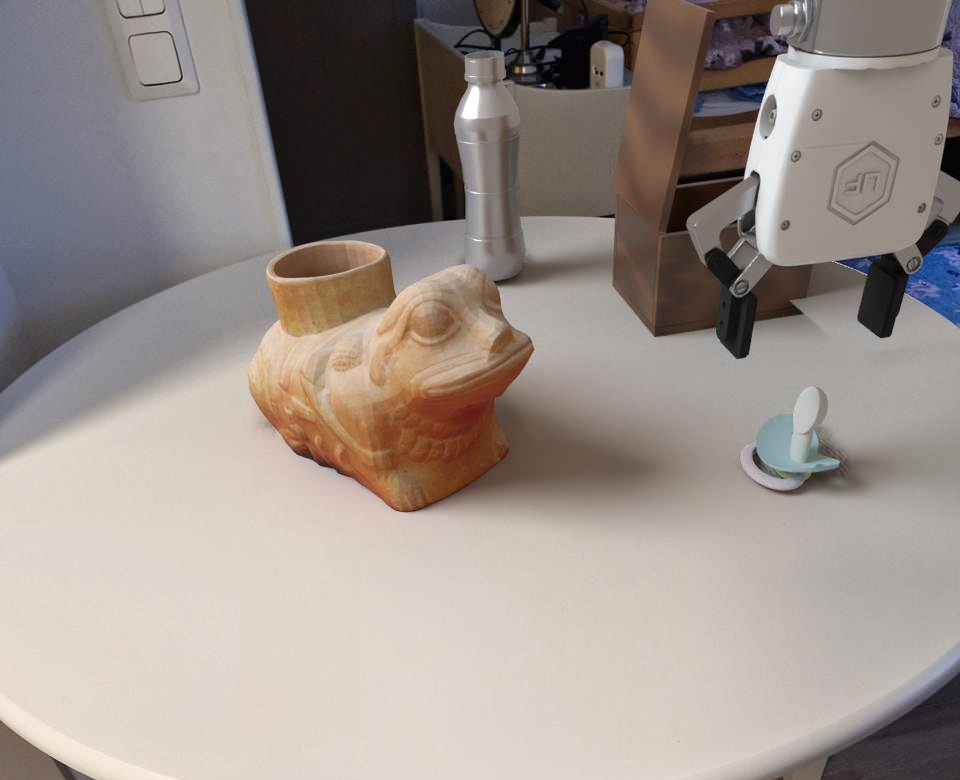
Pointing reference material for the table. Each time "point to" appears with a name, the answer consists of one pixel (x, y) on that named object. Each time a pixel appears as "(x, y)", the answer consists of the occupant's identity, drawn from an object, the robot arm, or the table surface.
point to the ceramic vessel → (386, 370)
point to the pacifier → (790, 444)
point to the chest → (688, 267)
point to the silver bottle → (490, 168)
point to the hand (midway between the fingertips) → (803, 339)
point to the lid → (662, 106)
